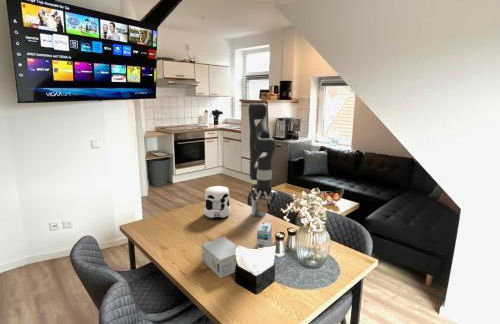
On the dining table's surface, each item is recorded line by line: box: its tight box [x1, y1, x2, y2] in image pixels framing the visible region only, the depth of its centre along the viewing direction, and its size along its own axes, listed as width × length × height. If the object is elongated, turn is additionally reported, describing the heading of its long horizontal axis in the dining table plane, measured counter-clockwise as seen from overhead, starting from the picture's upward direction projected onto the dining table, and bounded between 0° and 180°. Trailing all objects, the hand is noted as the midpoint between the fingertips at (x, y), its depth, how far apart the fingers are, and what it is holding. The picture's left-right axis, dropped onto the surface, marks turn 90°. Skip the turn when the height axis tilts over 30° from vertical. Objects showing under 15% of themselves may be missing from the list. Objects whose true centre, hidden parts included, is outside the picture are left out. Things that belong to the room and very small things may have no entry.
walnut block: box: [257, 197, 270, 214], centre depth 151 cm, size 5×5×7 cm
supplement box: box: [201, 236, 239, 279], centre depth 137 cm, size 17×13×9 cm
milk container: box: [203, 185, 232, 220], centre depth 191 cm, size 17×17×18 cm
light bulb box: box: [256, 221, 273, 249], centre depth 155 cm, size 11×7×11 cm, turn 168°
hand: (263, 208), depth 151 cm, fingers closed on walnut block, 5 cm apart
